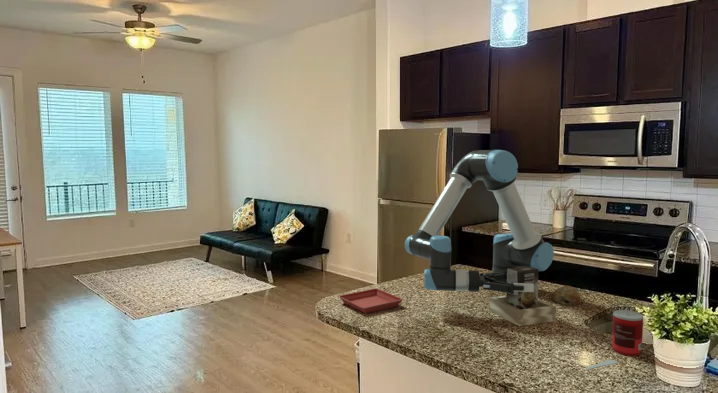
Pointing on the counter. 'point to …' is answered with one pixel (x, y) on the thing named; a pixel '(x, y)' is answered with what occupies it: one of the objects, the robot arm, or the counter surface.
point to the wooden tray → (523, 312)
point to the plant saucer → (370, 300)
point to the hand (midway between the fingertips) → (529, 282)
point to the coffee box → (523, 276)
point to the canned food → (627, 332)
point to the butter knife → (603, 364)
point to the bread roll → (567, 295)
